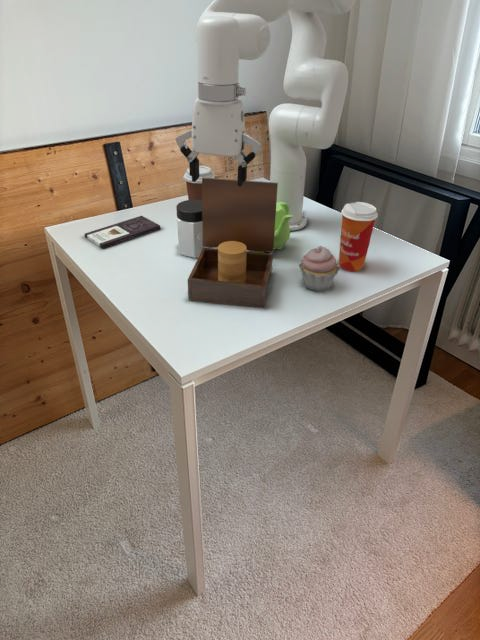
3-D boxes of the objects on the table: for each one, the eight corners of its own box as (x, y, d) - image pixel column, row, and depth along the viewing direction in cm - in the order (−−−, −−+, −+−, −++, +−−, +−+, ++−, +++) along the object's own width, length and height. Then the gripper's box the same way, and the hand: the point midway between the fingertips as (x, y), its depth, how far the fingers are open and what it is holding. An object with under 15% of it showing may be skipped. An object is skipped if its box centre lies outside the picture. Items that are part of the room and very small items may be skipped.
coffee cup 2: (327, 261, 126) (335, 203, 117) (355, 255, 128) (364, 198, 120) (346, 276, 119) (355, 217, 111) (375, 270, 122) (386, 212, 114)
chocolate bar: (160, 225, 139) (102, 245, 129) (160, 228, 139) (102, 248, 129) (141, 215, 144) (84, 233, 134) (141, 218, 145) (85, 236, 134)
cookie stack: (224, 274, 118) (223, 239, 113) (249, 279, 116) (250, 243, 111) (214, 287, 113) (213, 251, 108) (240, 292, 111) (241, 256, 106)
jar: (187, 261, 125) (184, 215, 118) (171, 248, 130) (168, 203, 123) (218, 252, 129) (217, 207, 122) (202, 240, 134) (200, 196, 127)
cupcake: (289, 278, 118) (292, 239, 113) (324, 272, 121) (329, 233, 115) (307, 298, 111) (312, 258, 106) (344, 291, 114) (351, 251, 108)
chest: (264, 308, 108) (265, 287, 105) (188, 300, 110) (187, 279, 107) (271, 273, 120) (273, 253, 117) (203, 267, 122) (203, 247, 119)
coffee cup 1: (206, 201, 156) (205, 162, 149) (221, 211, 150) (220, 171, 143) (180, 206, 152) (177, 167, 146) (193, 217, 146) (191, 176, 139)
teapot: (299, 238, 136) (303, 193, 129) (288, 262, 125) (292, 214, 118) (241, 230, 139) (242, 186, 132) (226, 253, 128) (226, 206, 121)
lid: (277, 183, 109) (279, 177, 113) (201, 178, 111) (207, 172, 115) (273, 252, 117) (275, 244, 121) (202, 246, 119) (207, 238, 123)
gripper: (266, 92, 97) (262, 180, 106) (180, 86, 100) (183, 172, 109) (259, 99, 91) (255, 192, 100) (167, 93, 94) (172, 183, 103)
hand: (218, 181), depth 105 cm, fingers open, 9 cm apart
